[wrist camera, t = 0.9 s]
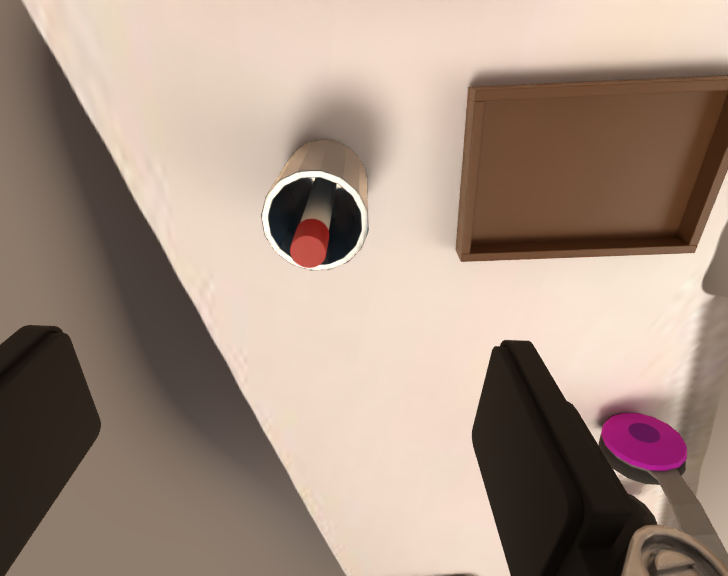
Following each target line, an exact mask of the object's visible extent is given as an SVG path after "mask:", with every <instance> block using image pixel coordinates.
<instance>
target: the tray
mask: <svg viewBox="0 0 728 576" xmlns="http://www.w3.org/2000/svg"><path fill="white" fill-rule="evenodd" d="M727 170H728V75H723V76H701V77H678V78H656V79H634V80H611V81H589V82H566V83H544V84H522V85H499V86H477V87H469V88H468V99H467V111H466V124H465V137H464V150H463V163H462V175H461V188H460V201H459V214H458V227H457V239H456V251H457V254H458V256H459V258H460V261H461V262H467V261H493V260H520V259H546V258H573V257H599V256H625V255H652V254H678V253H695V251H696V248H697V245H698V243H699V240H700V238H701V235H702V233H703V230H704V228H705V225H706V223H707V220H708V218H709V215H710V213H711V210H712V208H713V205H714V203H715V200H716V198H717V195H718V193H719V190H720V188H721V185H722V183H723V180H724V178H725V175H726V173H727Z"/></svg>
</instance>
